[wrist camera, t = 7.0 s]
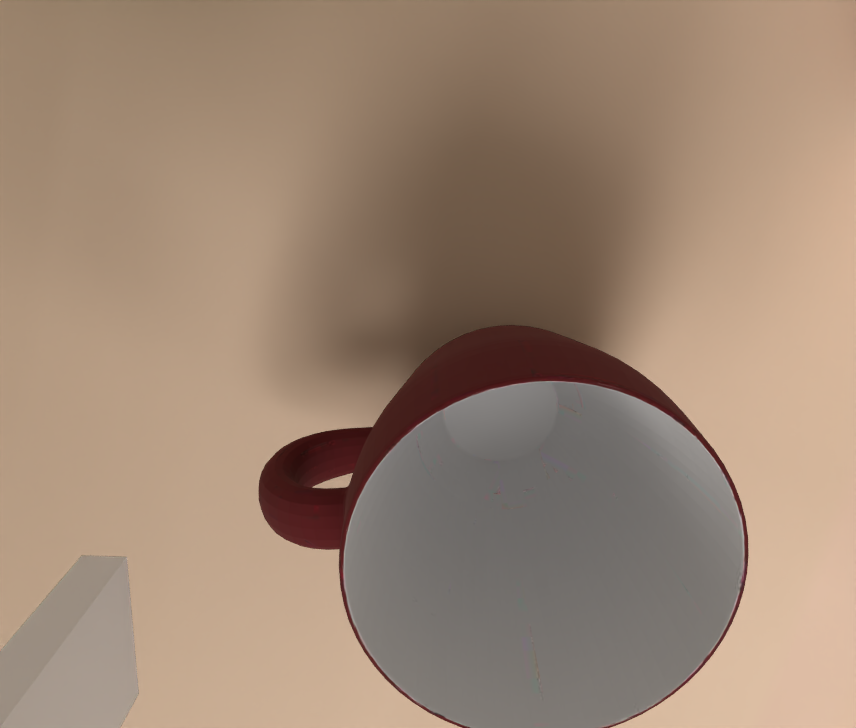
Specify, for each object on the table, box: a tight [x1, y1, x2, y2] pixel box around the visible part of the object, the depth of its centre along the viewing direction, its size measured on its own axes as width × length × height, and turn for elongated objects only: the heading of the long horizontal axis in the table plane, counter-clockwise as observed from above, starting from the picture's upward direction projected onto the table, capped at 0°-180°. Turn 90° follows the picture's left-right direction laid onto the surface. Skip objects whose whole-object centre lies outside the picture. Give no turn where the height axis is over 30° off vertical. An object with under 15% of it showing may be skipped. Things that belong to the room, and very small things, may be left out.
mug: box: [259, 325, 748, 728], centre depth 20 cm, size 10×8×10 cm
